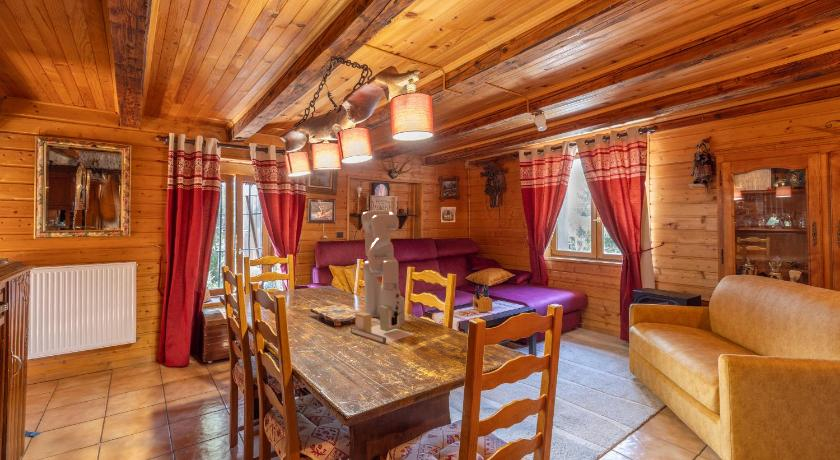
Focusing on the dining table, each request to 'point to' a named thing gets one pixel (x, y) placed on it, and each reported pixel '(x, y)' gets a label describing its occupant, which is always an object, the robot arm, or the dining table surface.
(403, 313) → the supplement box
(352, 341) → the dining table surface
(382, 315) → the tea box
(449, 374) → the dining table surface
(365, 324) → the faced box
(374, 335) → the shelf
